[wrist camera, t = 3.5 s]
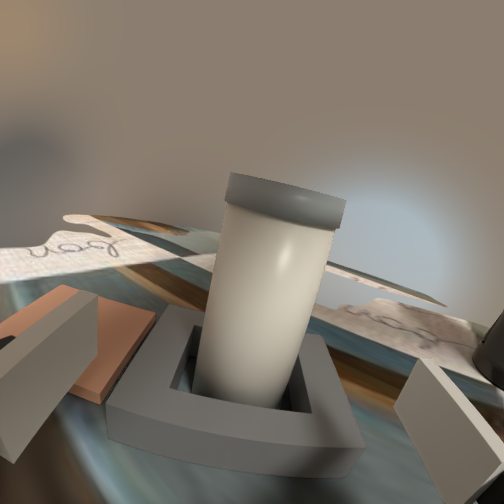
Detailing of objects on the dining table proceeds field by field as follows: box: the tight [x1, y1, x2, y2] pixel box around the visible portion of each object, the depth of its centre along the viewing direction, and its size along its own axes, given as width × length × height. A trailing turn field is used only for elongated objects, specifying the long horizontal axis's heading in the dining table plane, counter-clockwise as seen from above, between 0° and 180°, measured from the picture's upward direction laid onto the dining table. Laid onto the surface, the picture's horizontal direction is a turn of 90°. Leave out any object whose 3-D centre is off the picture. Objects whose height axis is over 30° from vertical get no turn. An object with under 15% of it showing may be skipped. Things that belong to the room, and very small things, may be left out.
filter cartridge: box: [192, 173, 346, 410], centre depth 19 cm, size 7×7×15 cm
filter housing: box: [105, 304, 366, 478], centre depth 20 cm, size 14×14×3 cm
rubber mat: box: [0, 285, 156, 405], centre depth 22 cm, size 11×13×1 cm
